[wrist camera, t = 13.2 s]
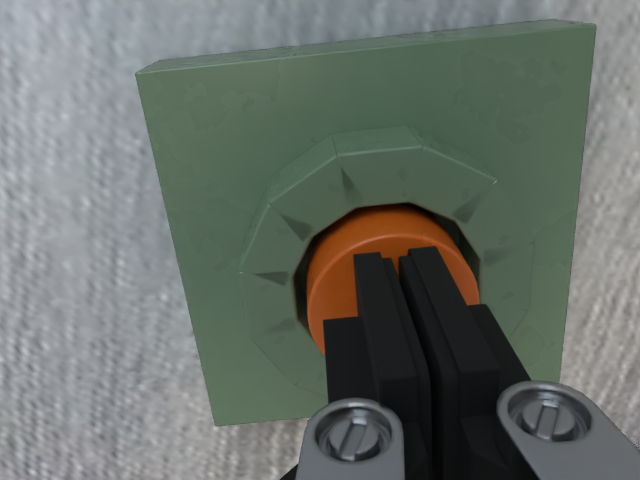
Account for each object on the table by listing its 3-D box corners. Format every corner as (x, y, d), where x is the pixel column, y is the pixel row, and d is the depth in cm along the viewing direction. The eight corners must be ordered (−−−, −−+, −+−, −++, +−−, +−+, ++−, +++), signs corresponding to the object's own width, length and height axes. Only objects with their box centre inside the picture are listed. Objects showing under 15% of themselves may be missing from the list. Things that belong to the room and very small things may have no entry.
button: (298, 211, 12) (298, 244, 11) (458, 195, 12) (483, 225, 11) (314, 344, 14) (316, 391, 12) (458, 330, 14) (478, 374, 12)
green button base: (157, 60, 14) (107, 85, 10) (554, 18, 14) (646, 28, 10) (224, 378, 18) (205, 477, 14) (529, 348, 18) (588, 439, 14)
